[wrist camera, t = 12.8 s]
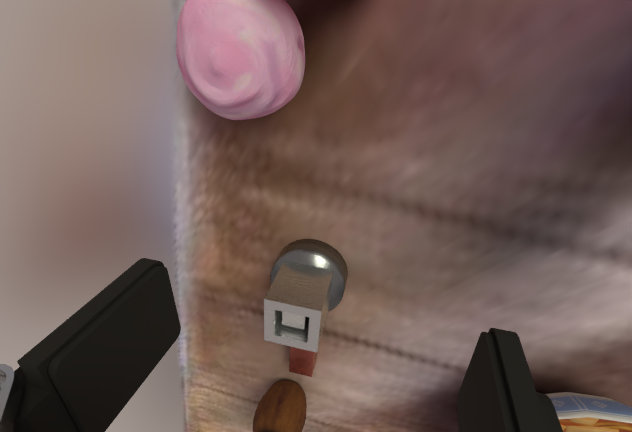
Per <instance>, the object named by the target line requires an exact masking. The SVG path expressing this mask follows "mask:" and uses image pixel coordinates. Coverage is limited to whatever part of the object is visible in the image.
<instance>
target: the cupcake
mask: <svg viewBox="0 0 632 432" xmlns="http://www.w3.org/2000/svg"><path fill="white" fill-rule="evenodd" d="M176 48H177V49H176V55H177V60H178V65H179V68H180V71H181V73H182V76H183V79H184V81H185V83H186V85H187V87H188V88H189V89H190V91H191V92H192V93H193V94H194V95H195V96H196V97H197V99H198V100H199V101H200V102H201V103H202V104H203V105H204V106H206V107H207V108H208V109H209V110H211V111H212V112H213V113H215V114H217V115H219V116H221V117H224V118H227V119H230V120H245V119H254V118H259V117H262V116H266V115H269V114H271V113H274V112H275V111H277V110H279V109H280V108H282V107H283V106H284V105H286V104H287V103H288V102H289V101H291V100H292V98H293V97H294V96H295V95H296V94H297V92H298V90H299V89H300V86H301V83H302V81H303V76H304V71H305V48H304V37H303V33H302V30H301V26H300V24H299V21H298V19H297V17H296V15H295V13H294V12H293V10H292V9H291V7H290V6H289V4H288V3H287V2H286V0H186V2H185V4H184V6H183V8H182V10H181V13H180V16H179V20H178V26H177V45H176Z"/></svg>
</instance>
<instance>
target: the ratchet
mask: <svg viewBox="0 0 632 432" xmlns="http://www.w3.org/2000/svg"><path fill="white" fill-rule="evenodd" d="M284 261H289V262H294V263H299V264H305V265H310V266H315V267H320V268H325V269H330V270H334V271H333V279H332V288H331V296H330V305H329V311H330V310H332V309H333V308H335V307H336V306H337V305H338V304H339V303H340V301H341V299H342V297H343V293H344V289H345V285H346V280H347V275H348V271H347V266H346V263H345V261H344V259H343V257H342V256H341V255H340V253H339V252H338V251H337V250H336V249H334V248H333V247H332V246H330V245H328V244H326V243H324V242H322V241H318V240H314V239H301V240H297V241H294V242H292V243H290V244H289V245H287V246H286V247H285V248H284V249H283V251H282V252H281V254H280V256H279V258H278V259H277V261H276V263H275V265H274V267H273V269H272V272H271V285H272V283H273V281H274V279H275V277H276V275H277V274H278V272H279V270H280V268H281V266H282V264H283V262H284ZM307 320H308V317H305V316H300V315H296V314H291V313H287V312H282V325H286V326H290V327H295V328H299V329H303V330H304V329H305V326H306V323H307ZM316 357H317V353H316V352H312V351H308V350H303V349H299V348H295V347H290V366H289V371H290V372H294V373H298V374H302V375H306V376H310V377H312V375H313V371H314V367H315V363H316Z"/></svg>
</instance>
